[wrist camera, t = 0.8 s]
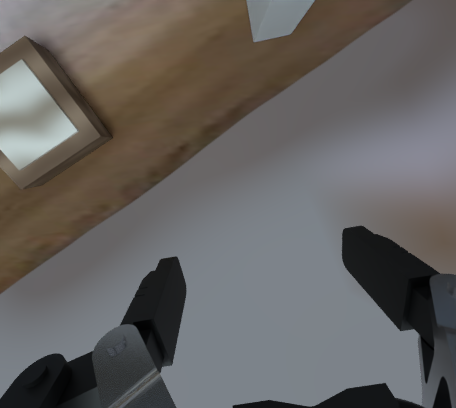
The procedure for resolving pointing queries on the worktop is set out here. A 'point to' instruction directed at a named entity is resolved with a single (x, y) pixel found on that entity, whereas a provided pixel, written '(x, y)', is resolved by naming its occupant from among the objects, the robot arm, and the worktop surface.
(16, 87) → the plinth
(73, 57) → the worktop surface
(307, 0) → the milk
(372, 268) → the robot arm
